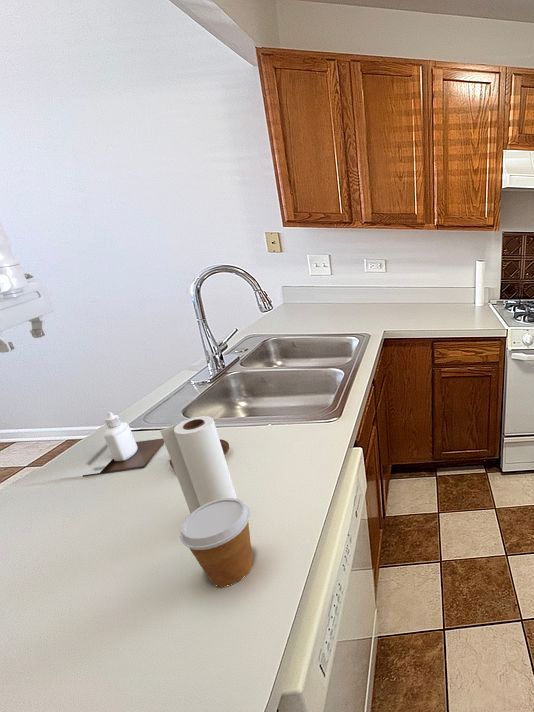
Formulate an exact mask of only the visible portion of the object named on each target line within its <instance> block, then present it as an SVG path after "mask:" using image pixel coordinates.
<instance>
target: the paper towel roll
mask: <svg viewBox="0 0 534 712" xmlns="http://www.w3.org/2000/svg"><path fill="white" fill-rule="evenodd" d="M159 430H160V434H161V437H162V438H163V439H164V442H165V443H164V445H165V448H166V450H167V453H168V455H169V458H170V459H171V461H172V464H173V467H174V469H173V470H174V472H175V475H176V478H177V480H178V483H179V486H180V489H181V491H182V494H183V497H184V500H185V502H186V505H187V507H188V511H189V513H190V514H191V513H192V512H194V511H195V510H196V509H198V508H199V507H201V506H203V505H205V504H207V503H209V502H212V501H215V500H219V499H224V498H235V499H238V495H237V493H236V490H235V487H234V483H233V479H232V476H231V474H230V470H229V467H228V463H227V460H226V455H225V456H224V453H223V449H222V446H221V443H220V439H221V438H220V437H219V432H218V430H217V426H216V423H215V420H214V418H213V417H211V416H208V415H202V416H195V417H191V418H187V419H185V420H182V421H179V422H176V423H175V424H172V425H171V426H168V427H165V428H162V429H159ZM170 459H169V460H170Z"/></svg>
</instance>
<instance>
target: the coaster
mask: <svg viewBox="0 0 534 712" xmlns="http://www.w3.org/2000/svg"><path fill="white" fill-rule="evenodd" d="M135 442H136V444H137V447H138V449H137V451H136V453H135V454H134V455H133V456H131V457H130V458H128V459H127V460H124V461H114V459H113V458H112V459H111V460H110V461H109V462H108V463H107V464H106V465H105V466H104V468H103V469H101V471H100V472H95V473H90V474H88V473H87V474H83V475H82V477H83V478H84V477H90V476H91V477H92V476H97V475H104V474H112V473H119V472H125V471H126V472H127V471H133V470H139V469H145V468H146V467H147V466H148V464H149V463H150V462H151V460H152V459H153V458H154V457H155V455H156V454H157V453H158V452H159V451H160V450H161V448H162V447H163V445H165V442H164V439H163V437H162V438H156V439H147V440H139V441H135Z"/></svg>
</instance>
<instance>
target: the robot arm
mask: <svg viewBox="0 0 534 712" xmlns="http://www.w3.org/2000/svg"><path fill="white" fill-rule="evenodd" d="M54 309H55V305H54V302H53V301H52V299H51V297H50V295H49V293H48V291H47V289H46V288H45V287H44V285H43V284H42V283H40V282H39V280H38V278H37V277H35V276H33V275H31V274H30V273H25V272H24V271H23V269H22V266H21V264H20V262H19V261H18V259H17V258H16V257H15V255H14V253H12V250H11V242H10V239H9V237H8V235H7V233H6V231H5V229H4V227H3V225H2V223H1V222H0V354H2V353H3V354H4V353H10V352H12V351H14V350H15V346H14V344H13V342H12V341H7V340H6V339H5V338H4V337H5V335H4V333H3V331H5V330H8V329H11V328H13V327H16V326H19V325H21V324H24V323H27V322H30V323H31V330H29V332H30V334H31V337H32V338H34V339H37V338H39V339H40V338H43V337H46V336H47V332H46V330H45V323H46V319H45V315H47V314H50V313H53V312H54V311H55V310H54Z"/></svg>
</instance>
